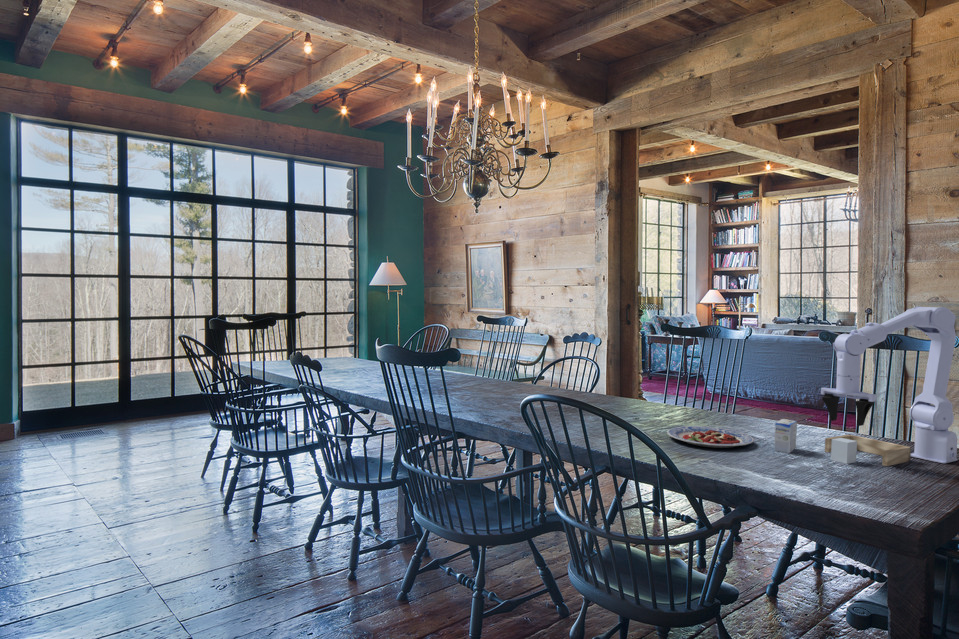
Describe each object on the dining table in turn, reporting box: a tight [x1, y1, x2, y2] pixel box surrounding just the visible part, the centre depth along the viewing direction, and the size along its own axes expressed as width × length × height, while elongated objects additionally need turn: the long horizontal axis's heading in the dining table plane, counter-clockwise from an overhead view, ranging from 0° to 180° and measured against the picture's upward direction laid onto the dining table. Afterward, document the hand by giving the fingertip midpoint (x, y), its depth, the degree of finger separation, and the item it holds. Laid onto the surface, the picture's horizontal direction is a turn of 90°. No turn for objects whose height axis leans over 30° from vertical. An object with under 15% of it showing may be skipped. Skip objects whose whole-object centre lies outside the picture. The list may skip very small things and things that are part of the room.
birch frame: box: [824, 433, 912, 467], centre depth 178 cm, size 17×12×4 cm
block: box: [830, 438, 858, 465], centre depth 172 cm, size 4×4×6 cm
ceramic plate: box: [666, 425, 755, 449], centre depth 194 cm, size 26×26×3 cm
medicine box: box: [773, 418, 798, 454], centre depth 184 cm, size 8×4×9 cm, turn 141°
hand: (846, 422), depth 175 cm, fingers open, 7 cm apart
